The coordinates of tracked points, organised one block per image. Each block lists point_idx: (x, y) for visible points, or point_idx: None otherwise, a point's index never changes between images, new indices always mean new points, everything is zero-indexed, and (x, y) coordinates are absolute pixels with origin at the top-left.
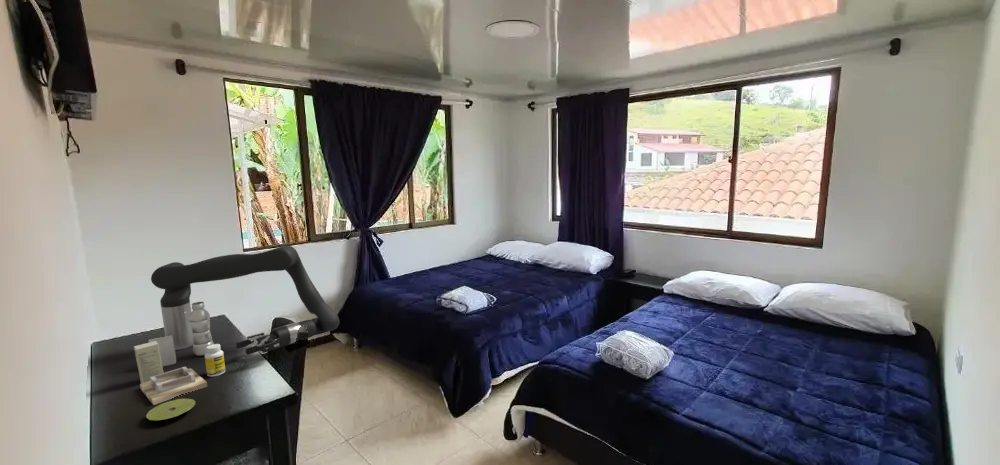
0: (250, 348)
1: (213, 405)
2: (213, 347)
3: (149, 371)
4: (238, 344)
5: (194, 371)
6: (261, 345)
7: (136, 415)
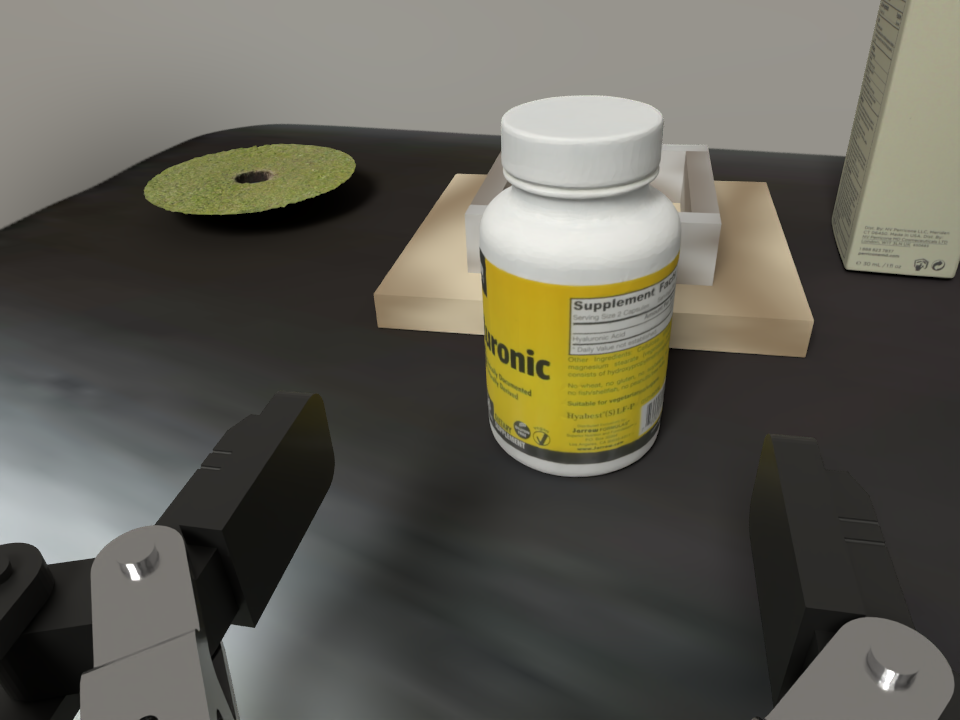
0: (250, 438)
1: (100, 276)
2: (527, 110)
3: (853, 163)
4: (765, 476)
5: (699, 313)
6: (98, 595)
7: (427, 172)
